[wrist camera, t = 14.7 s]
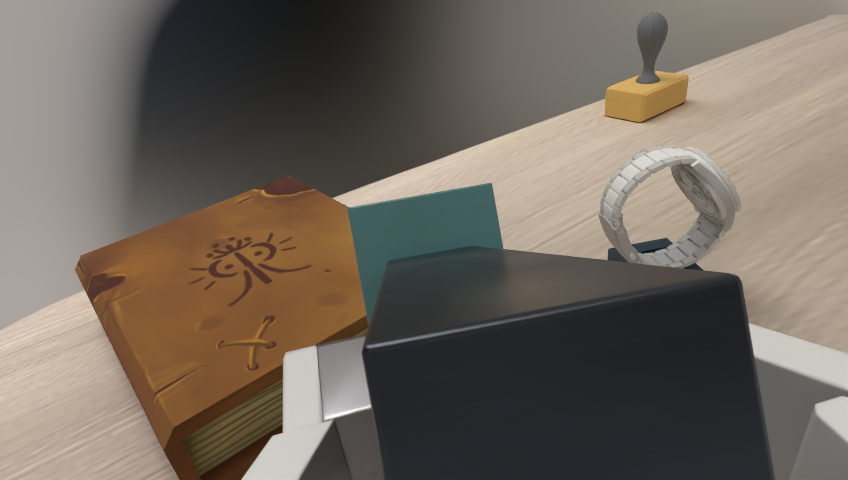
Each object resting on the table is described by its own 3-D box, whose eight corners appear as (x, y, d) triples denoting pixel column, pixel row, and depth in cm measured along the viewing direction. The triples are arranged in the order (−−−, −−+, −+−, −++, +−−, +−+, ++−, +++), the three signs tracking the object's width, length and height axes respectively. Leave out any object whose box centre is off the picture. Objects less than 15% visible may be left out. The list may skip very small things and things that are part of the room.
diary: (101, 319, 43) (69, 259, 40) (303, 228, 53) (288, 175, 50) (197, 510, 27) (154, 434, 24) (462, 330, 36) (454, 260, 34)
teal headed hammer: (297, 770, 4) (173, 100, 4) (377, 328, 23) (357, 214, 23) (929, 624, 4) (825, -6, 4) (491, 307, 23) (470, 194, 23)
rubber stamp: (642, 123, 66) (650, 21, 60) (603, 115, 70) (607, 19, 64) (686, 102, 71) (699, 5, 65) (647, 96, 75) (655, 4, 69)
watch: (736, 313, 35) (770, 156, 29) (618, 337, 34) (631, 181, 28) (686, 268, 39) (708, 125, 34) (582, 288, 39) (587, 146, 33)
